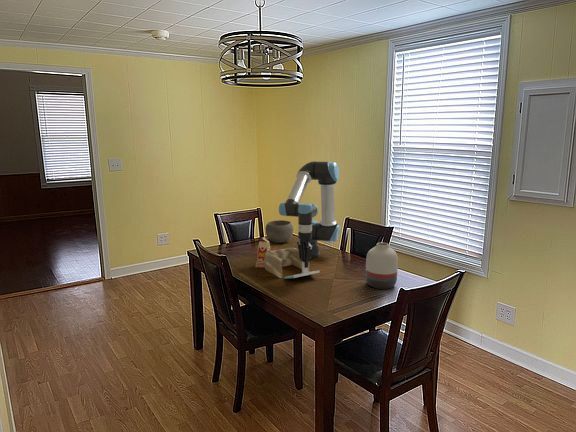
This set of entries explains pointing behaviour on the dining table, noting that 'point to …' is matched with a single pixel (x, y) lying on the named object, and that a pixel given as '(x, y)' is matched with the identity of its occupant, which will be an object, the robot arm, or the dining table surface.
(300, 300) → the dining table surface
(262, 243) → the milk carton
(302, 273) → the light blue flat panel
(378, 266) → the vase
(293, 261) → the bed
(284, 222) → the bowl
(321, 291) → the dining table surface
